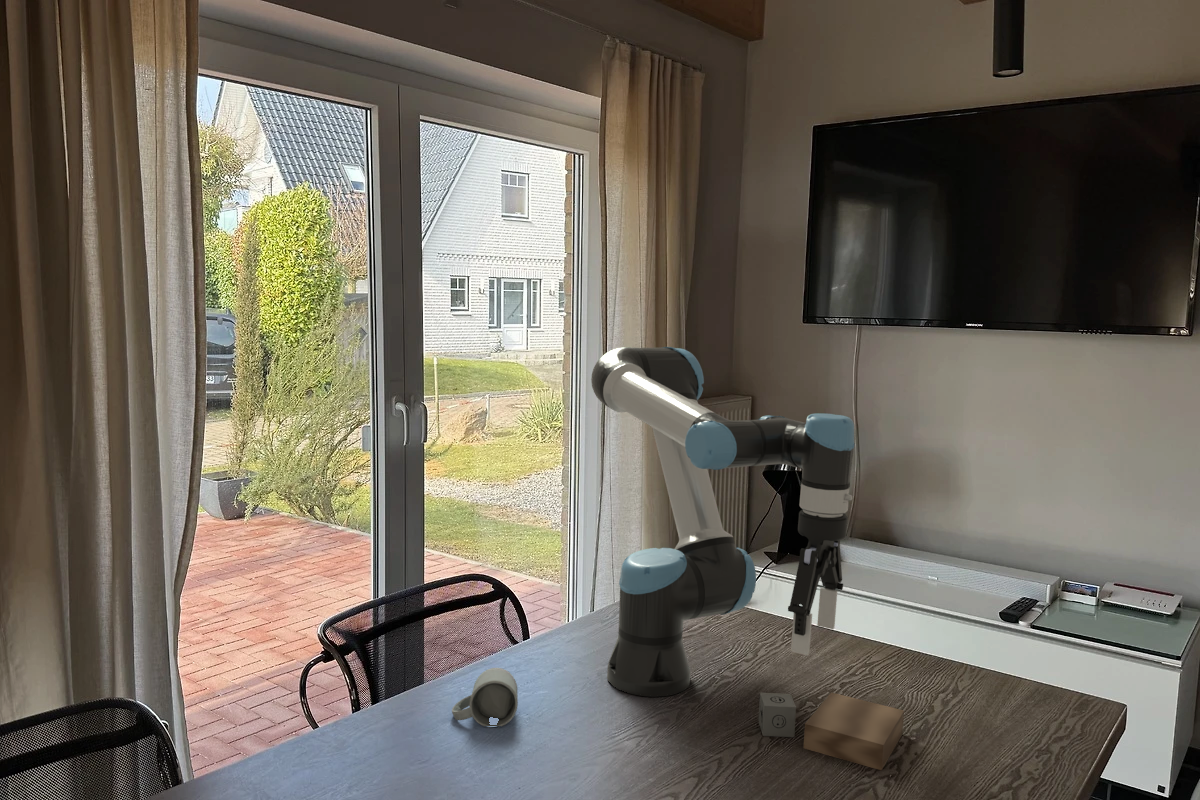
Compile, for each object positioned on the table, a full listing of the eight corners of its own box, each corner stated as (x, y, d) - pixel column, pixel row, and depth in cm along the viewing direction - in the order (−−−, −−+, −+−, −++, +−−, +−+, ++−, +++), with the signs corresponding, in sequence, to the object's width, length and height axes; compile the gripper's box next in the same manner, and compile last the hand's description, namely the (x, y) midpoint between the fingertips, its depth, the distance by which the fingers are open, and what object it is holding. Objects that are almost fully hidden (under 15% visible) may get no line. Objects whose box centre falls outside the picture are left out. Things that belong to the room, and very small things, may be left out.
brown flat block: (803, 748, 141) (804, 723, 141) (829, 715, 153) (831, 692, 153) (881, 770, 135) (883, 744, 135) (902, 734, 147) (904, 710, 147)
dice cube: (794, 737, 145) (762, 735, 145) (788, 723, 150) (758, 721, 150) (796, 707, 144) (764, 705, 144) (790, 693, 149) (760, 692, 149)
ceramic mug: (517, 705, 153) (517, 661, 152) (517, 728, 145) (517, 681, 144) (453, 707, 152) (453, 662, 151) (450, 729, 144) (450, 683, 143)
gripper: (823, 531, 131) (812, 671, 134) (867, 501, 153) (857, 622, 155) (773, 523, 135) (764, 658, 138) (823, 494, 157) (814, 612, 159)
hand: (813, 639), depth 147 cm, fingers open, 13 cm apart
